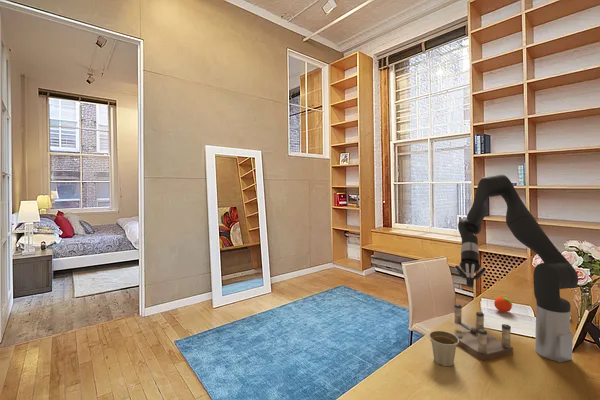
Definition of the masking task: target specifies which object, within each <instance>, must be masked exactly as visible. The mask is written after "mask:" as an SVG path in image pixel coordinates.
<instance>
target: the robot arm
mask: <svg viewBox="0 0 600 400" xmlns="http://www.w3.org/2000/svg"><path fill="white" fill-rule="evenodd" d="M475 190H476V191H475V193H474V194H475V195H474V198H473V202H472V205H471V208H470V209H469V211H468V213H467V214H466V218H462V219H460V220H459V221H458V223H457V229H458V232H459V235H460V238H461V248H460V262H459V265H455V266H454V270H455V271H456V272H457V274H459V276H461V278H462V279H466V280H465V281H466V282H465V283H466V286H468V288H473V287H474V286H475V285H474V284H475V283H474V281H475V280H476V281H477V280H479V279H480V278H481V277H482V276H483V275H484V274H486V268H482V266H481V264H480V256H479V255H480V254H479V253H480V252H479V251H480V250H479V244H478V243H479V241H478V236H477V235H478V234H480V233H481V231H482V223H483V221H484V219H485V217H487V216H486V215H487V213H488V206H487V204H486V201H487V200H488V198H492V197H499V196H501V197H502V199H503V200H504V202H505V204H506V212H505V213H506V215H505V223H506V226H507V228H508V229H509V230H510V232H511V233H512V235H513V236H514V237H515V239H517V241H519V242H520V243H521V244H523V245H524V246H526V247H527V248H529V250H531V251H532V252H534V253H535V254H536V255H537V256H538V257H539V259H540V260H542V262H540V263H538V264H536V266H535V267H534V270H533V274H532V275H533V295H534V298H535V300H536V301H535V302H536V304H535V305H536V306H535V307H536V309H535V313H536V314H535V338H534V339H535V342H534V345H535V346H534V351H535V352H536V354H538V355H539V356H541V357H543V358H546V359H548V360H551V361H554V362H558V363H564V362H568V361H572V360H573V346H574V344H573V342H574V341H573V340H574V334H573V332H572V331H571V308H572V307H571V306H572V305H571V302H570V301H569V300H567V299H565V298H562V297H561V293H560V291H561V290H564V289H566V290H567V289H572V288H575V287H576V286H577V285H578V283H579V276H578V273H577V270H576V269H575V268H574V266H573V265H572V264H571V263H570V261H568V259H567V258H566V257H565V256H564V254H562V253H561V252H560V250H559V249H558V248H557V247H556V246H555V245H554V243H553V242H552V241H551V239H550V238H549V236H548V235H547V234H546V233H545V231H544V230H543V228H542V227H541V225H540V223H539V222H538V221H537V219H536V218H535V217H534V216H533V214H532V213H531V212H530V210H529V209H528V207H526V205H525V203H524V201H523V200H522V199H521V197H520V195H519V194H518V192H517V190H516V188H515V187H514V184H513V183H512V182H511V180H510V178H509V177H508V176H507V175H505V174H494V175H487V176H483V177H482V178H480V180H479V181H478V184H477V187H476V189H475ZM476 273H477V274H476Z"/></svg>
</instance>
